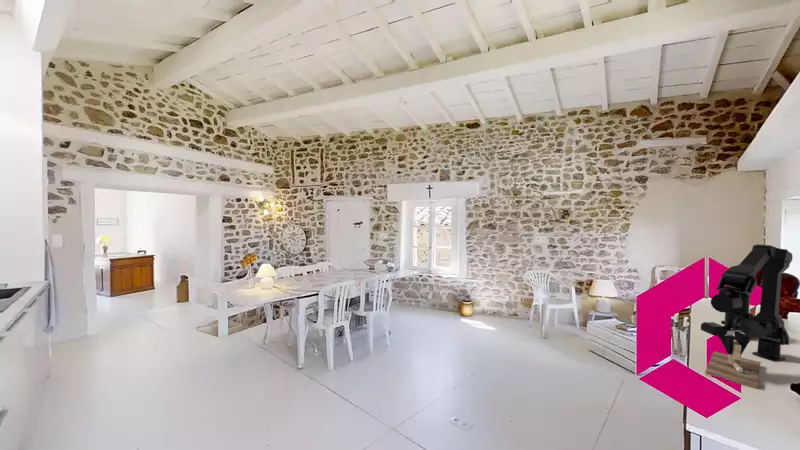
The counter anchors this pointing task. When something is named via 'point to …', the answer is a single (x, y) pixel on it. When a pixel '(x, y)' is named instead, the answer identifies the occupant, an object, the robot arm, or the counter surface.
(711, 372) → the board
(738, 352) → the beige wooden angled piece
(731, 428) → the counter surface
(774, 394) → the counter surface
